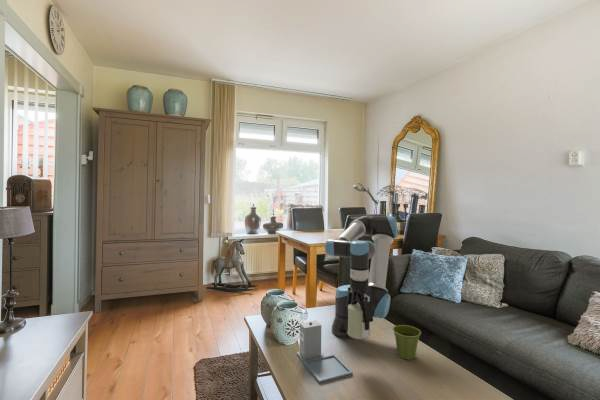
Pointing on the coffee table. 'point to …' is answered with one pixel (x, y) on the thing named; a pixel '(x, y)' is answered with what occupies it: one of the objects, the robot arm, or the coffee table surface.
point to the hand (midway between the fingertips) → (358, 331)
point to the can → (355, 321)
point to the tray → (327, 368)
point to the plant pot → (406, 340)
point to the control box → (310, 341)
